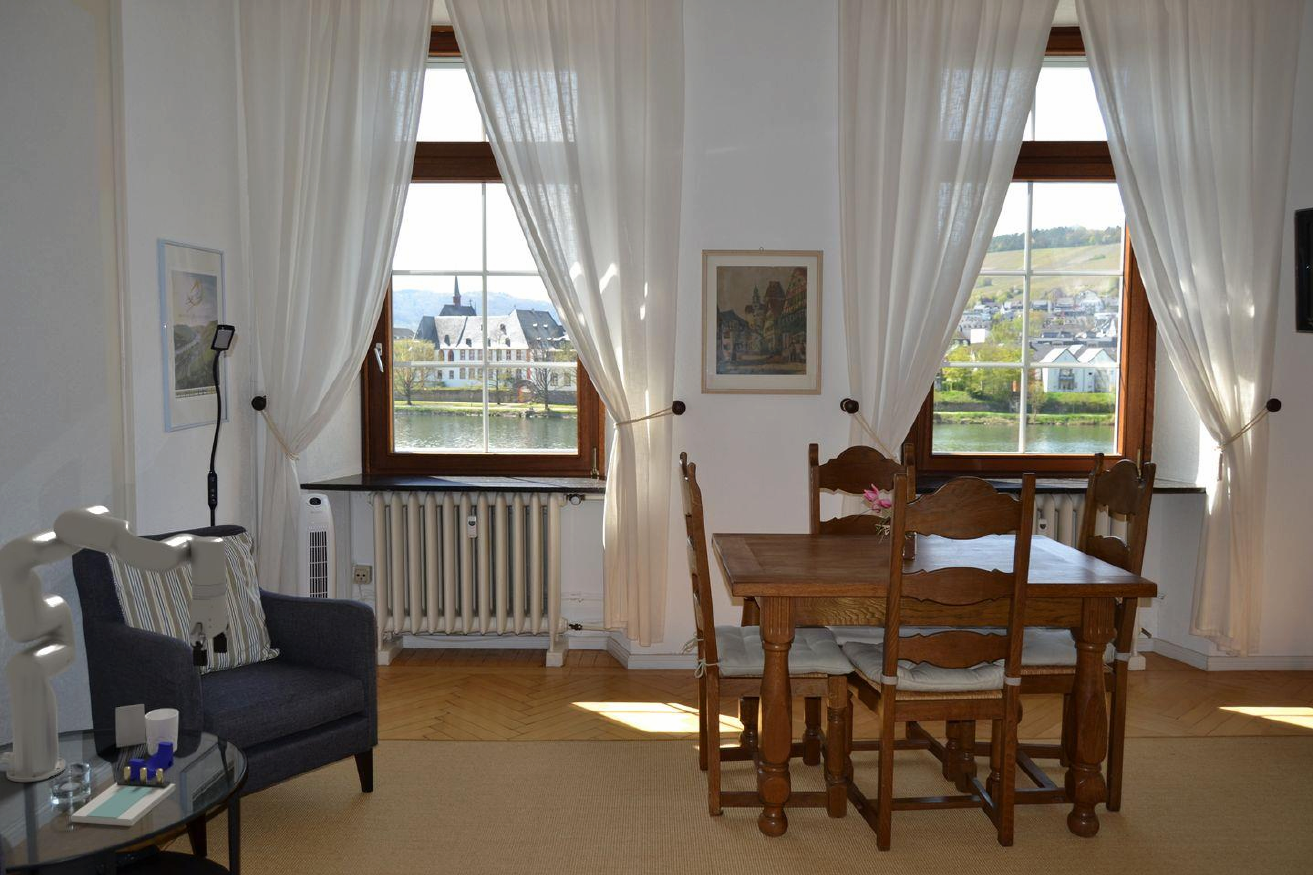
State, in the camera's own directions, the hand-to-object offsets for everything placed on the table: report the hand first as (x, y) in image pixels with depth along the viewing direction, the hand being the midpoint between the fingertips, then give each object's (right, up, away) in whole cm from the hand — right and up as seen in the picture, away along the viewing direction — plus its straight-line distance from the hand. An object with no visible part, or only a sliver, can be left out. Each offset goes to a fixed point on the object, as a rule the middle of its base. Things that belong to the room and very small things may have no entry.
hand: (210, 659), depth 248 cm
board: (-16, -32, -9) cm, 37 cm away
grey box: (-32, -28, +26) cm, 50 cm away
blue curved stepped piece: (-18, -30, +8) cm, 36 cm away
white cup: (-21, -29, +21) cm, 41 cm away
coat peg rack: (-15, -30, -2) cm, 33 cm away
